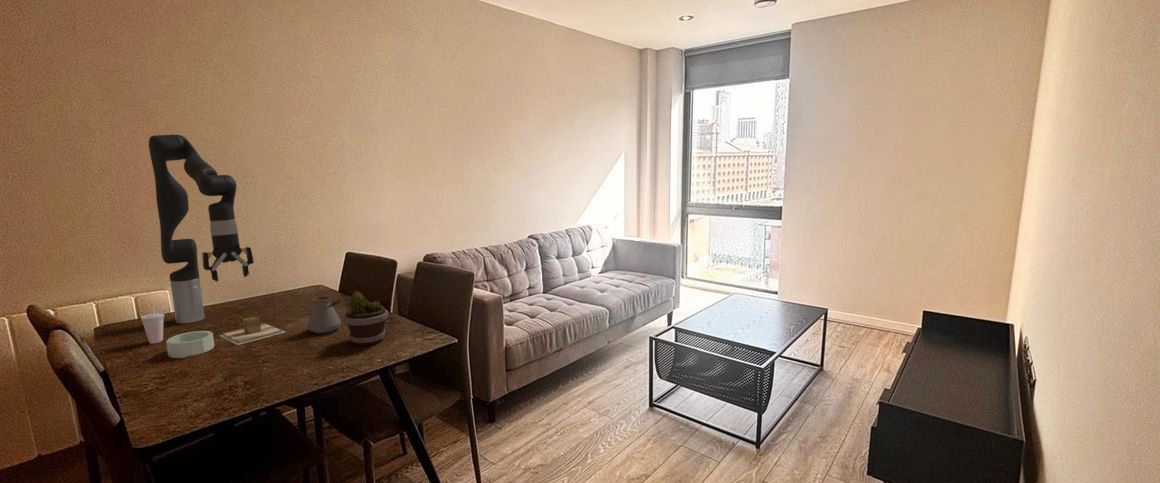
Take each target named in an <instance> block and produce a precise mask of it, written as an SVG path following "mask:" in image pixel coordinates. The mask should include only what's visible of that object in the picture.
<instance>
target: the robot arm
mask: <svg viewBox="0 0 1160 483" xmlns="http://www.w3.org/2000/svg"><path fill="white" fill-rule="evenodd" d="M148 149H149V156H150V160H151V165H152V170H153V175H154V181H155V182H154V183H155V184H154V185H155V196H156V197H155V198H156V205H157V206H156V208H157V211H158V212H157V213H158V220H159V226H160V227H159V228H160V229H159V230H160V251H161V258H162V260H163V262H164V263H165V264H167V265H169V264H170V265H171V264H181V263H187V264H186V265H184V266H183V267H181V268H179V269H177V270H174V271H172V272H170V274H169V282H170V289H171V296H172V304H173V305H172V306H173V311H174V318H175V319H174V320H175V323H176V324H190V323H195V322H200V321H202V320H204V319H205V318H206V317H205V310H204V303H203V295H202V286H201V279H200V270H199V262H198V247H197V243H196V241H195V239H193V238H181V239H180V238H179V239H173V237H174V234H175V231H176V229H177V228H178V227H179V225H180V224H181V223H182V221H183V220H184V218H185V217H186V215H187V214H188V212H189V210H190V207H189V205H190V204H189V195H188V192H187V190H186V189H185V188H184V186H182V184H180V183H179V182H178V181H177V179H175V178H174V176H173V175H172V174H171V173H170V171H169V168H168V165H167V162H169V161H170V162H172V161H181V160H184V163H183V169H184V172H185V173H186V175H187V176H189V177H190V178H191V179H192V180H193V181H195V183H196V185H197V187H198V191H199V193H200V194H202V195H204V196H208V197H218V196H219V197H221V199H220V201H217V202H213V203H210V204H209V205H208V209H207V210H208V211H207V212H208V215H209V216H208V217H209V224H210V226H209V229H210V234H211V235H210V237H211V241H212V242H211V243H212V249H213V250H212V251H203V252H202V254H201V256H202V257H201V258H202V266H203V270H205V271H209V272H210V273H211V274H210V275H211V279H212V281H214V282H219V275H218V271H217V269H218V267H219V266H220V265H221V264H222V263H224V264H225V263H229V262H232V263H233V262H235V261H237V262H238V263H239V264H240V265H242V266H241V267H242V268H241V269H242V275H243V277H244V278H246V277H248V275H249V274H250V272H249V266H250V265H252V264H254V257H253V256H254V255H253V252H252V248H251V247H249V246H246V247H242V248H241V246H240V239H239V230H238V225H237V222H236V218H235V211H234V206H235V205H234V204H235V199H236V198H235V197H236V193H237V183H236V182H237V181H236V180H235V178H234V177H233V176H231V175H229V174H223V175H222V174H218V172H217V170H216V169H215V168H214V167H212V165H211V164H209V163H207V162H206V161H205V160H204V159H203V158H202V157H201V155H200V154H199V153H198V151H197V150H196V148H195V147H194V146H193V145H192V144H191V142H190V141H189V140H188V139H187V138H186V137H185V136H183V135H182V134H181V135H180V134H162V135H161V134H158V135H151V136H149V139H148ZM242 253H244V254H246V258H247V260H244V258H242V257H241V256H240V255H242ZM212 256H213V257H214V258H215V260H214V261H213V263H212V265H211V266H210V263H209V261H210V259H211V257H212Z"/></svg>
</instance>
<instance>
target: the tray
mask: <svg viewBox="0 0 1160 483" xmlns="http://www.w3.org/2000/svg"><path fill="white" fill-rule="evenodd" d="M284 333H286V331H284V330H282V332H281V333H277V334H273V335H270V336H266V337H262V338H258V339H255V340H251V341H247V342H243V343H238V342H236V341H234V340H232V339H230V338H228V337H226V336H224V335H223V334H220V335H219V337H221V338H223V339H225V340H227V341H229V342H231V343H233V344H235V345H237V346H239V345H243V344H246V343H250V342H254V341H258V340H262V339H265V338H269V337H274V336H277V335H281V334H284Z"/></svg>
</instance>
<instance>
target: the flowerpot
mask: <svg viewBox="0 0 1160 483" xmlns="http://www.w3.org/2000/svg"><path fill="white" fill-rule="evenodd" d="M351 295H352V296H351ZM351 295H350V296H349V298H350V299H348V300H349V301H347V303H348V304H349V306H348V309H347V310H346V313H345V314H344V315H343V319H342V321H343V322H344V323H345V324H346V325H347V328H348V330H349V332H350V333H349V334H348V337H349V338H348V339H349V340H350V342H352V343H353V344H354V345H358V346H370V345H375V344H378V343H380V342H382V340H383V338H385V335H386V329H385V325H386V320H387V319H388V317H389V311H388V310H387V309H386V308H385V307H384V305H380V303H379V302H377V300H375V301H373V302H371V301H370V300H366V299H367V297H366V296H365V295H364V294H363V293H362V292H361V291H360V290H358V291H355V290H353V293H351Z"/></svg>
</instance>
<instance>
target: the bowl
mask: <svg viewBox="0 0 1160 483" xmlns="http://www.w3.org/2000/svg"><path fill="white" fill-rule="evenodd" d="M165 342H166V343H165V344H166V349H167V350H166V351H167V356H168V357H170V358H171V359H183V358H185V359H186V358H188V357H192V356H196V355H200V354H203V353H207V352H209V351H210V350H213V348H214V347H215V340H214V333H213V332H212V331H209V330H198V331H188V332H185V333H180V334H175V335H174V336H172V337H171V336H170V337H169V338H168V339H167V340H166V341H165Z"/></svg>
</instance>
